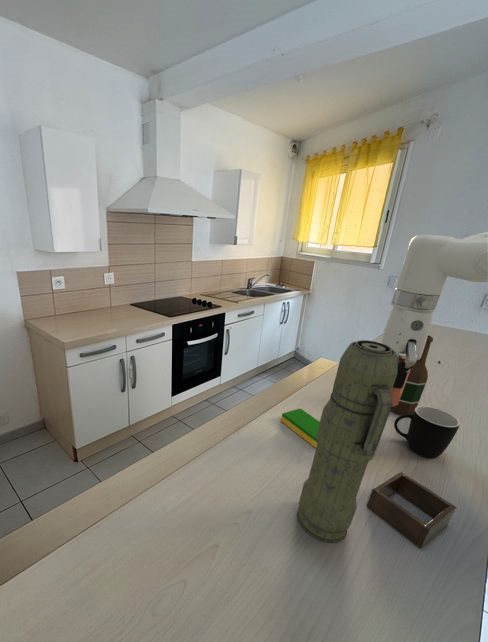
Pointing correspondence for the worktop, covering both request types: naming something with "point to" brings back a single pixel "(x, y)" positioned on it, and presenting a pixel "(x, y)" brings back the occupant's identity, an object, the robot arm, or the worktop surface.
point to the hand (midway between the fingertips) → (387, 378)
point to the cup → (398, 390)
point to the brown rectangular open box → (403, 518)
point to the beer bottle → (414, 384)
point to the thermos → (347, 438)
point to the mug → (429, 430)
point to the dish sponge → (302, 425)
